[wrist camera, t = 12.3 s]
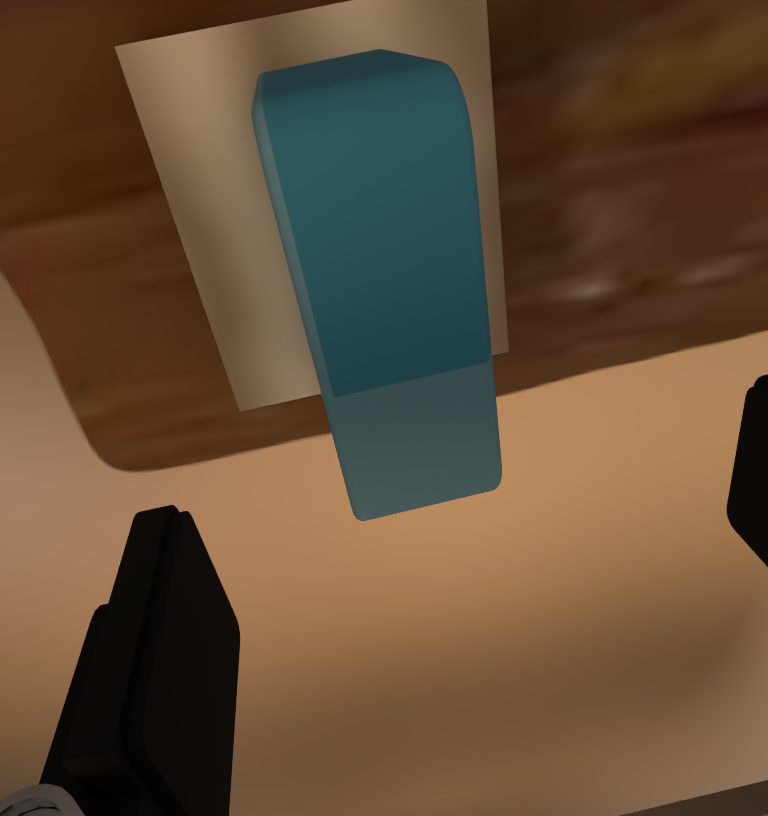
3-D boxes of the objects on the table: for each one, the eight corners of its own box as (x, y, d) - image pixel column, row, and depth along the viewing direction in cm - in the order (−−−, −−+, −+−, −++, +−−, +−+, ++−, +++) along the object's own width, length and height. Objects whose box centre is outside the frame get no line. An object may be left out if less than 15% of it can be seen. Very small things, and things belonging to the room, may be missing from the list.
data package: (424, 341, 29) (507, 510, 19) (328, 363, 29) (361, 546, 19) (379, 45, 23) (470, 62, 12) (255, 71, 22) (245, 109, 12)
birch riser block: (449, -18, 26) (484, -26, 22) (478, 311, 34) (508, 351, 30) (139, 43, 26) (114, 46, 21) (243, 363, 34) (239, 411, 29)
